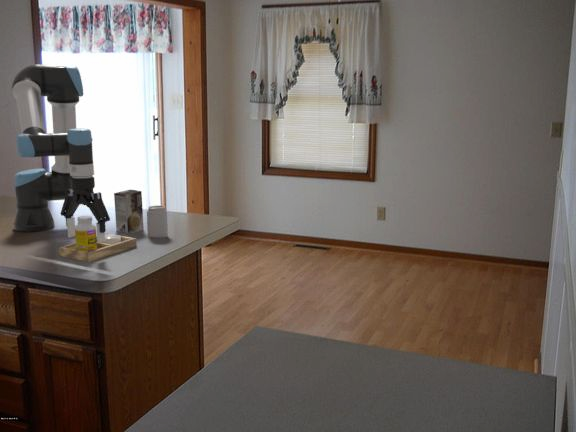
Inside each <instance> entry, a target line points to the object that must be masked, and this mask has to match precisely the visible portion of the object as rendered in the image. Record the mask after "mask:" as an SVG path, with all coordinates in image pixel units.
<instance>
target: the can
mask: <svg viewBox="0 0 576 432" xmlns="http://www.w3.org/2000/svg"><path fill="white" fill-rule="evenodd" d="M146 225H147V237H149V238H166V237H168V235H169V234H168V233H169V232H168V229H169V228H168V210H167V209H166V206H164V205H150V206H148V209H147V211H146Z"/></svg>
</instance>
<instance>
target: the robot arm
mask: <svg viewBox="0 0 576 432" xmlns="http://www.w3.org/2000/svg"><path fill="white" fill-rule="evenodd" d="M81 77H82V76H81V72H80V70H79V68H78V67H77V66H76V65H71V64H39V63H37V64H36V63H35V64H30V65H28V66H25V67H23V68H22V69H21V70H19V71H18V73H17V74H16V75H15V76H14V78H13V80H12V84H11V92H12V93H11V94H12V96H13V97H14V99H15V100H16V104H17V112H18V120H19V125H20V126H19V127H20V132H21V133H19V134H17V135H16V137H15V138H16V139H15V140H16V150H17V155H18V156H19V157H21V158H40V157H43V158H45V157H54V164H53V165H52V166H51V171H47V170H46V169H45V168H40V167H39V168H31V169H25V170H22V171H19V172H17V173H16V174H15V175H14V185H13V186H14V189H15V191H14V192H15V200H16V213H15V218H14V221H13V230H14V231H17V232H21V233H22V232H24V233H25V232H27V233H28V232H29V233H30V232H31V233H32V232H41V231H48V230H49V229H50V230H51V229H53V228H54V227H55V220H54V218H53V215H52V213H51V211H50V208H49V202H52V201H63V203H62V204H63V205H62V208H61V211H60V215H61V216H63V217H64V218H65V226H66V227H67V229H66V230H67V237H68V238H75V226H76V221H75V219H76V218H75V217H74V214H75V213H76V212H77V210H78V208H79V207H80V205H82V206H86V207H87V208H89V210H90V212H91V214H92V215H93V217H94V218H95V219H96V221H97V223H95V226H96V236H97V243H101V242H104V241H105V234H106V230H107V229H106V223H107V222H109V221H110V220H111V217H110V216H109V212H108V210H107V208H106V206H105V203H104V201H103V197H102V192H99V191H98V192H94V189H95V187H96V184H95V182H96V181H95V176H94V175H95V166H94V155H93V153H94V152H93V137H92V131H91V129H89V128H77V114H76V113H77V111H76V105H77V104H78V103H79V102H80V98H81V97H83V96H84V87H83V81H82V78H81ZM40 97H46V99H47V102H48V103H49V104H50V105H51V116H52V117H51V118H52V131H53V133H46V128H45V122H44V116H43V110H42V106H41V99H40Z"/></svg>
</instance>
